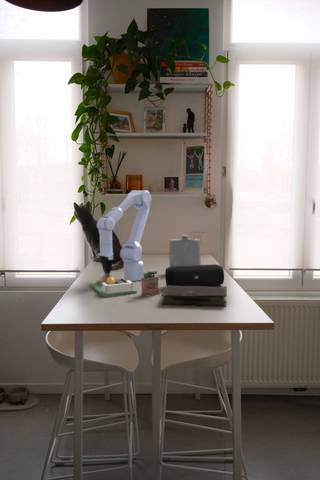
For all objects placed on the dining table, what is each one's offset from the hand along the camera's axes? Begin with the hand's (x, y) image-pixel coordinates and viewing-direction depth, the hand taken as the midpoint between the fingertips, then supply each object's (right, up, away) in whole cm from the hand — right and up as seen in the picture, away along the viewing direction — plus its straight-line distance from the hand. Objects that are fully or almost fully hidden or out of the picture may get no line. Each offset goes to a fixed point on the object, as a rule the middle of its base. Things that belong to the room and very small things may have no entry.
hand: (107, 272), depth 216 cm
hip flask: (+38, -2, +25) cm, 45 cm away
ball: (+2, -4, -5) cm, 7 cm away
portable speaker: (+40, -6, -5) cm, 41 cm away
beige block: (0, -5, +1) cm, 5 cm away
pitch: (+3, -7, -7) cm, 10 cm away
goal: (+6, -8, -14) cm, 18 cm away
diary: (+39, -10, -28) cm, 49 cm away
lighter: (+20, -8, -17) cm, 28 cm away
